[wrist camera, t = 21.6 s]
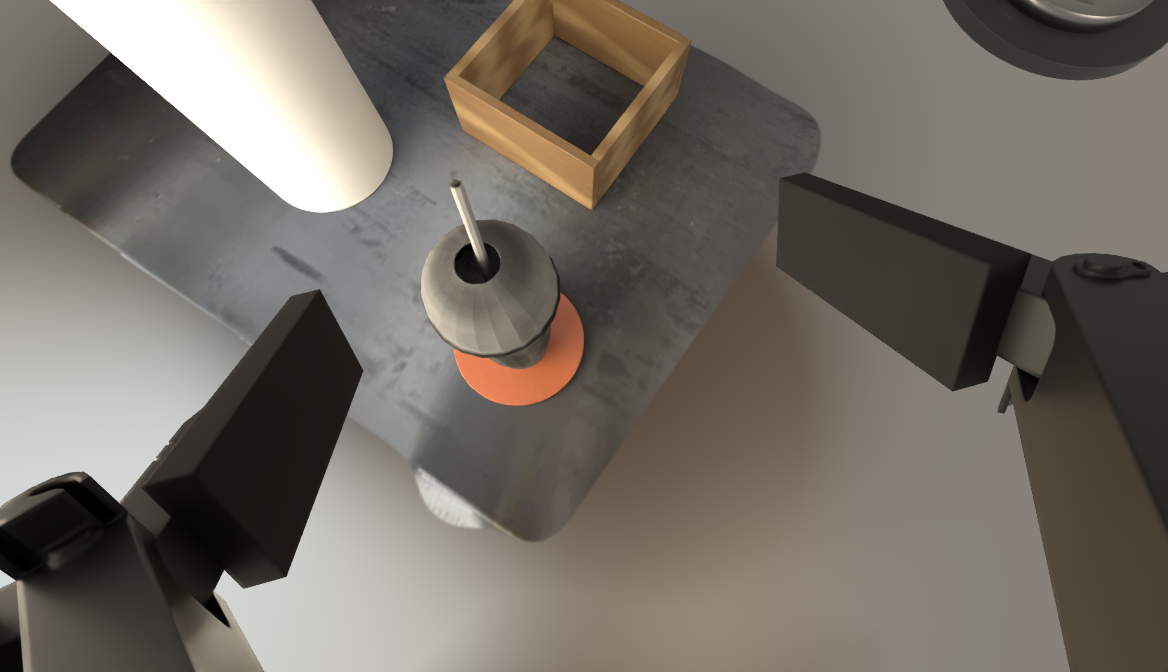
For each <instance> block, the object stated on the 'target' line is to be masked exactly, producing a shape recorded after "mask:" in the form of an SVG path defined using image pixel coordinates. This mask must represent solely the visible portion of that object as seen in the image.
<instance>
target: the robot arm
mask: <svg viewBox="0 0 1168 672" xmlns="http://www.w3.org/2000/svg"><path fill="white" fill-rule="evenodd" d="M1007 1H1008V2H1009V3H1010V4H1011V5H1013V6H1014V7H1015V8H1016V9H1017V10H1019V11H1020V12H1021V13H1023V14H1024V15H1026V16H1028V17H1029V18H1031V19H1033V20H1035V21H1037V22H1039V23H1041V24H1044V25H1046V26H1049V27H1052V28H1055V29H1059V30H1063V31H1068V32H1075V33H1096V32H1102V31H1107V30H1111V29H1113V28H1116V27H1118V26H1120V25H1122V24H1124V23H1125V22H1127V21H1128V20H1130V19H1131V18H1132V17H1134V16H1135V15H1136V14H1137V13H1139V12H1140V11H1141V10H1142V9H1144V8H1145V7H1146V6H1148V5H1149V4H1150V3H1151V2H1152V1H1153V0H1007ZM776 262H777V263H776V266H777V267H778V268H780V269H781V270H783V271H784V272H786V273H787V274H788V275H790V276H791V277H793V278H794V279H795V280H797V281H798V282H799V283H801V284H802V285H804V286H805V287H807V288H808V289H809V290H811V291H812V292H814V293H815V294H817V295H818V296H819V297H821V298H822V299H823V300H825V301H826V302H828V303H829V304H830V305H832V306H833V307H835V308H836V309H837V310H839V311H840V312H842V313H843V314H844V315H846V316H847V317H849V318H850V319H852V320H853V321H855V322H856V323H857V324H859V325H860V326H861V327H863V328H864V329H866V330H867V331H868V332H870V333H871V334H873V335H874V336H875V337H877V338H878V339H880V340H881V341H882V342H884V343H885V344H887V345H888V346H890V347H891V348H893V349H894V350H895V351H897V352H898V353H900V354H901V355H902V356H904V357H905V358H906V359H908V360H909V361H911V362H912V363H914V364H915V365H916V366H918V367H919V368H920V369H922V370H923V371H925V372H926V373H927V374H929V375H930V376H932V377H933V378H935V379H936V380H937V381H939V382H940V383H942V384H943V385H945V386H946V387H947V388H949V389H950V390H951V391H956V390H959V389H963V388H966V387H970V386H974V385H977V384H981V383H984V382H987V381H988V380H989V377H990V374H991V371H992V368H993V365H994V362H995V360H996V357H997V356H999V357H1001V358H1003V359H1004V360H1006V361H1008V362H1010V363H1011V364H1013V365H1014V367H1013V370H1012V372H1011V375H1010V377H1009V380H1008V383H1007V385H1006V388H1005V391H1004V394H1003V396H1002V399H1001V401H1000V404H999V407H998V412H999V413H1005V411H1006V409H1007V406H1009V405H1011V404H1013V406H1014V410H1015V415H1016V420H1017V424H1018V429H1019V433H1020V438H1021V443H1022V448H1023V452H1024V457H1025V462H1026V466H1027V471H1028V476H1029V480H1030V485H1031V490H1032V494H1033V499H1034V503H1035V508H1036V513H1037V518H1038V522H1039V527H1040V532H1041V536H1042V541H1043V546H1044V550H1045V555H1046V560H1047V565H1048V569H1049V574H1050V578H1051V583H1052V588H1053V592H1054V597H1055V601H1056V606H1057V611H1058V616H1059V621H1060V625H1061V630H1062V635H1063V639H1064V644H1065V649H1066V653H1067V658H1068V663H1069V667H1070V672H1168V272H1166V273H1161V272H1160V271H1158V270H1157V269H1155V268H1154V267H1153V266H1151V265H1149V264H1147V263H1146V262H1143V261H1138V260H1135V259H1131V258H1126V257H1121V256H1117V255H1109V254H1096V253H1090V254H1073V255H1067V256H1063V257H1060V258H1058V259H1056V260H1055V261H1053V262H1052V261H1049V260H1047V259H1044V258H1041V257H1038V256H1035V255H1033V254H1030V253H1027V252H1025V251H1022V250H1019V249H1016V248H1014V247H1011V246H1008V245H1005V244H1002V243H1000V242H997V241H994V240H991V239H988V238H985V237H983V236H980V235H977V234H975V233H971V232H969V231H966V230H963V229H961V228H958V227H955V226H952V225H950V224H947V223H944V222H941V221H938V220H935V219H933V218H930V217H927V216H925V215H922V214H919V213H916V212H913V211H910V210H908V209H905V208H902V207H900V206H897V205H894V204H891V203H888V202H886V201H883V200H880V199H877V198H875V197H872V196H869V195H866V194H863V193H861V192H858V191H855V190H852V189H849V188H847V187H844V186H841V185H838V184H835V183H833V182H830V181H827V180H824V179H822V178H819V177H816V176H813V175H811V174H808V173H801V174H796V175H792V176H788V177H784V178H780V186H779V211H778V236H777V261H776ZM362 373H363V369H362V367H361V365H360V364H359V362H358V360H357V358H356V356H355V354H354V352H353V350H352V349H351V347H350V345H349V343H348V341H347V339H346V337H345V335H344V334H343V332H342V330H341V328H340V326H339V324H338V322H337V321H336V319H335V317H334V315H333V313H332V311H331V309H330V307H329V306H328V304H327V302H326V300H325V298H324V296H323V294H322V292H321V291H320V289H319V290H315V291H311V292H307V293H303V294H298V295H294V296H291V297H290V298H289V300H288V301H287V302H286V303H285V305H284V306H283V307H282V308H281V310H280V311H279V312H278V314H277V315H276V316H275V317H274V319H273V320H272V321H271V322H270V324H269V325H268V326H267V327H266V329H265V330H264V331H263V333H262V334H261V335H260V336H259V338H258V339H257V340H256V341H255V343H254V344H253V345H252V346H251V348H250V349H249V350H248V352H247V353H246V354H245V356H244V357H243V358H242V359H241V360H240V362H239V363H238V365H237V366H236V367H235V368H234V369H233V371H232V372H231V373H230V374H229V376H228V377H227V378H226V379H225V381H224V382H223V383H222V385H221V386H220V387H219V388H218V390H217V391H216V392H215V393H214V395H213V396H212V397H211V399H210V400H209V401H208V402H207V404H206V405H205V406H204V407H203V408H202V409H201V410H200V411H199V412H197V413H196V414H195V415H193V416H192V417H191V418H190V419H188V420H187V421H186V422H185V423H184V424H183V425H182V426H181V427H180V429H179V430H178V431H177V432H176V433H175V435H174V436H173V437H172V438H171V440H170V441H169V445H166V446H165V447H164V448H163V450H162V451H161V452H160V453H159V455H158V456H157V457H156V458H157V460H156V461H153V462H152V463H151V465H150V466H149V467H148V468H147V469H146V471H145V472H144V473H143V474H142V476H141V477H140V478H139V479H138V481H137V482H136V483H135V484H134V485H133V487H132V488H131V489H130V490H129V492H128V493H127V494H126V495H125V496H124V498H123V499H122V500H121V501H120V503H118V502H117V501H116V500H115V499H114V498H113V497H112V496H111V495H110V494H109V493H108V492H107V491H106V490H105V489H103V488H102V487H101V486H100V485H99V484H98V483H97V482H96V481H95V480H94V479H93V478H92V477H91V476H89V475H88V474H86V473H85V472H72V473H67V474H64V475H61V476H58V477H55V478H51V479H49V480H47V481H45V482H43V483H41V484H39V485H37V486H34V487H32V488H30V489H28V490H27V491H25V492H23V493H21V494H20V495H18V496H16V497H15V498H13V499H11V500H10V501H8V502H6V503H5V504H4V505H2V506H1V507H0V570H2V571H3V572H4V573H6V574H7V575H9V576H10V577H12V578H13V579H15V580H16V581H15V582H13V583H11V584H9V585H7V586H5V587H2V588H0V672H264V671H263V668H262V667H261V665H260V663H259V661H258V660H257V658H256V656H255V654H254V652H253V650H252V649H251V647H250V645H249V643H248V641H247V640H246V638H245V636H244V634H243V632H242V631H241V629H240V627H239V625H238V624H237V621H236V620H235V618H234V616H233V614H232V612H231V611H230V609H229V607H228V605H227V603H226V602H225V601H224V600H223V599H222V598H221V597H220V596H219V595H218V594H217V593H215V591H214V589H215V587H216V585H217V583H218V581H219V579H220V577H221V575H222V573H223V571H224V570H225V571H226V572H227V573H228V574H229V575H230V576H231V577H232V578H233V579H234V580H235V581H236V582H237V583H238V584H239V585H240V586H241V587H242V588H248V587H252V586H255V585H259V584H262V583H266V582H269V581H273V580H277V579H280V578H283V577H286V576H287V574H288V571H289V569H290V566H291V563H292V561H293V558H294V555H295V552H296V550H297V547H298V544H299V542H300V539H301V536H302V534H303V531H304V528H305V526H306V523H307V520H308V518H309V515H310V512H311V510H312V507H313V504H314V501H315V499H316V496H317V494H318V491H319V488H320V486H321V483H322V480H323V477H324V475H325V472H326V469H327V467H328V464H329V461H330V459H331V456H332V453H333V451H334V448H335V445H336V442H337V440H338V437H339V434H340V432H341V429H342V426H343V424H344V421H345V418H346V416H347V413H348V410H349V408H350V405H351V402H352V400H353V397H354V394H355V392H356V389H357V386H358V384H359V381H360V378H361V376H362Z"/></svg>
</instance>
